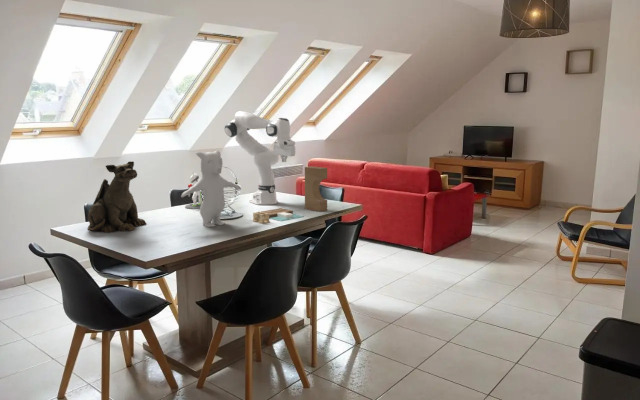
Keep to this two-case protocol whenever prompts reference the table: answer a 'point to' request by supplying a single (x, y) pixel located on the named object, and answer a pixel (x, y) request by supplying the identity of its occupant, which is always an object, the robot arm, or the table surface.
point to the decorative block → (314, 188)
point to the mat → (286, 218)
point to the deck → (274, 212)
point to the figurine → (195, 194)
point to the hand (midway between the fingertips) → (284, 162)
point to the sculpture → (115, 203)
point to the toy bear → (211, 188)
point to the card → (284, 215)
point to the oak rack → (261, 217)
